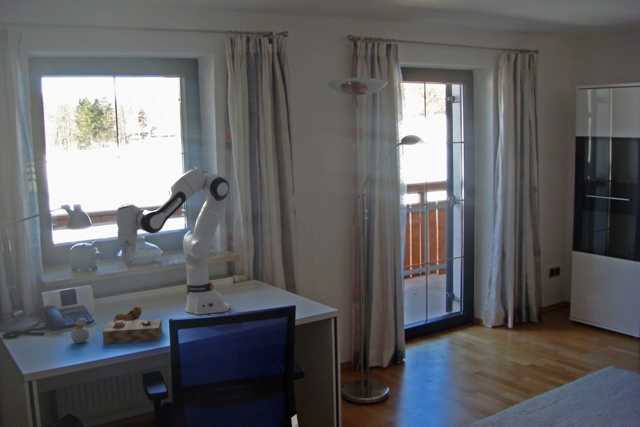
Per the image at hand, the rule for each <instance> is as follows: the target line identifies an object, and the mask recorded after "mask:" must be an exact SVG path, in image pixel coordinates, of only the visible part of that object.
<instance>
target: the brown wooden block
mask: <svg viewBox="0 0 640 427" xmlns="http://www.w3.org/2000/svg"><path fill="white" fill-rule="evenodd" d="M123 321H124V320H123ZM143 321H151V323H152V325H150V326H141V325H142V322H143ZM162 321H163V320H162V318H157V319H156V318H155V319H154V318H153V319H151V318H150V319H140V320H139V319H136V320H135V321H131V320H130V321H124V322H125V326H124V327H119V328H113V325H114V321H109V322H107V323H106V325H105V326H104V328H103V331H102V339H103V340H102V342H103V344H102V345H104V346H105V345H116V344H117V345H119V344H118V343H121V344H133V343H134V342H135V343H146V342H145V341H150V342H160V339H161V337H160V336H162V333H163V322H162Z"/></svg>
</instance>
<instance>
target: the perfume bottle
mask: <svg viewBox="0 0 640 427" xmlns="http://www.w3.org/2000/svg"><path fill="white" fill-rule="evenodd" d="M86 325H87V319H86V318H83V317H80V316H78V318H77V322H75V327H74V328H73V330H72V331H71V335H70V336H71V340H72V341H73V343H76V344H83V343H85V342H87V341H88V339H89V337H90V333H89V330H88V329H87V328H86V327H85V326H86Z"/></svg>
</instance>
